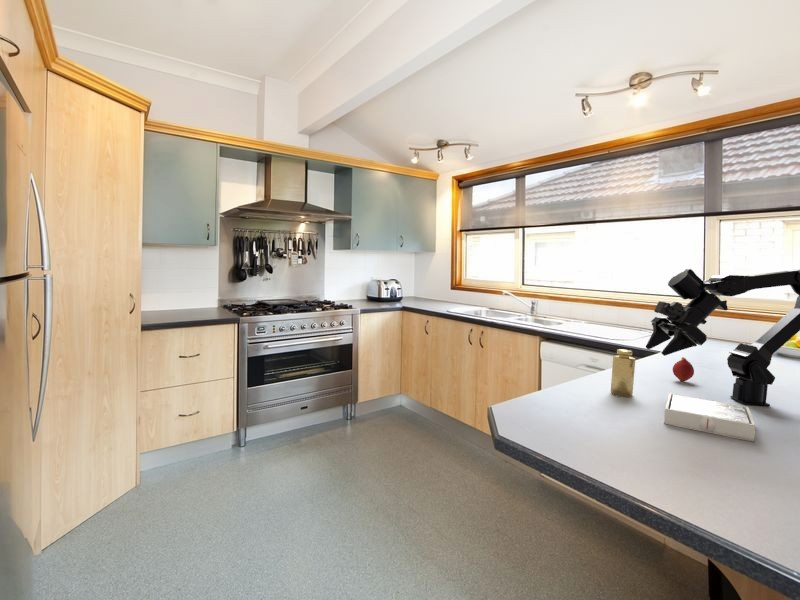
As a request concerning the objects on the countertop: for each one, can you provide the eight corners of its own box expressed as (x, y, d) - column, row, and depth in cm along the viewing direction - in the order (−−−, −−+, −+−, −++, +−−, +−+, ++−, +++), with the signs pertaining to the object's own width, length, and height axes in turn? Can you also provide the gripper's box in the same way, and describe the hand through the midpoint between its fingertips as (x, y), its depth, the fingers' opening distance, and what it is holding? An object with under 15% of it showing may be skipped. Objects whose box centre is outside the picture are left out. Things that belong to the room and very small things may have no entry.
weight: (628, 392, 124) (631, 349, 123) (635, 397, 119) (639, 353, 118) (607, 390, 125) (610, 348, 124) (614, 396, 120) (617, 351, 119)
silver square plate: (672, 398, 110) (673, 394, 110) (743, 410, 102) (743, 406, 102) (669, 411, 98) (670, 408, 98) (749, 426, 90) (749, 423, 90)
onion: (686, 380, 142) (688, 356, 142) (697, 384, 136) (699, 359, 136) (668, 378, 143) (670, 355, 142) (677, 383, 137) (679, 358, 136)
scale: (668, 406, 111) (669, 393, 111) (746, 421, 102) (748, 406, 102) (663, 424, 98) (665, 409, 98) (754, 442, 89) (755, 426, 89)
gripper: (658, 289, 128) (619, 327, 130) (694, 292, 109) (648, 336, 111) (686, 315, 128) (647, 352, 130) (727, 322, 109) (680, 366, 111)
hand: (654, 351), depth 120 cm, fingers open, 9 cm apart
